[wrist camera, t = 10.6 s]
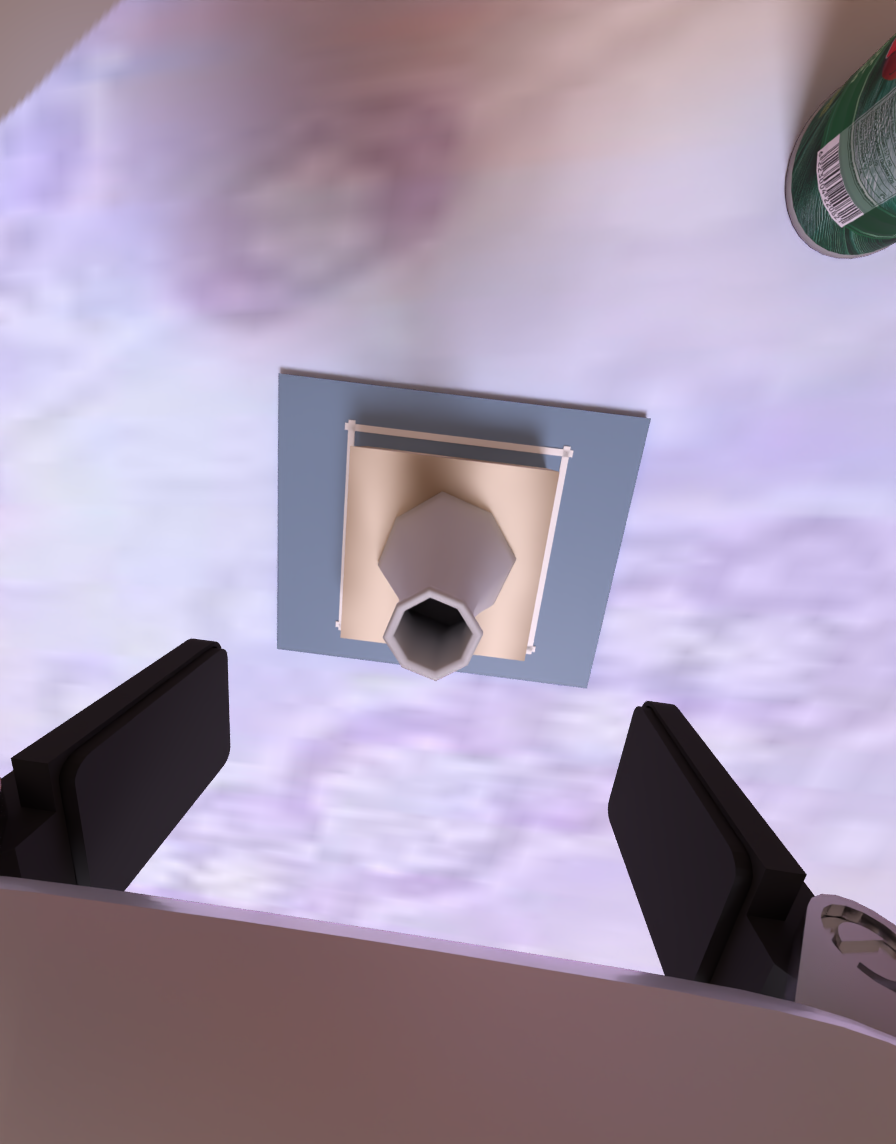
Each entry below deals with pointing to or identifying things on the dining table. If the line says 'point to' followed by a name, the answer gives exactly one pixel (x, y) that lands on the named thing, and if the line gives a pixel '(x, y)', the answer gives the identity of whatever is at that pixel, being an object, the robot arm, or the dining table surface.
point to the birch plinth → (411, 478)
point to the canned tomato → (849, 165)
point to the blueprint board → (466, 430)
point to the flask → (442, 582)
